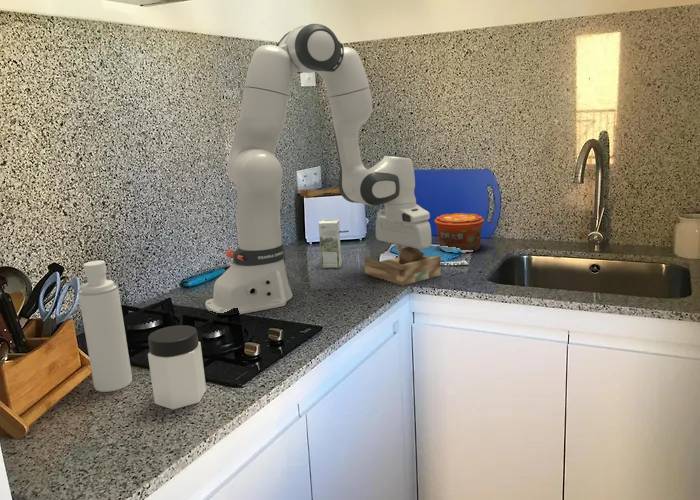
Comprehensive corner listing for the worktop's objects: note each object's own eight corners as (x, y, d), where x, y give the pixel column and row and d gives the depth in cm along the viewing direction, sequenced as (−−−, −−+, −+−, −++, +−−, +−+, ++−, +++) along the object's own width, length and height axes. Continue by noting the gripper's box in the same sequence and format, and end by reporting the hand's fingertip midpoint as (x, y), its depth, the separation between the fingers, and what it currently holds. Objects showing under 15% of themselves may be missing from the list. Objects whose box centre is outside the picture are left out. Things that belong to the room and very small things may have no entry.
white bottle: (135, 374, 116) (116, 248, 110) (128, 389, 109) (107, 257, 103) (99, 378, 115) (78, 251, 109) (90, 394, 109) (67, 260, 103)
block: (409, 270, 167) (411, 255, 165) (398, 262, 170) (401, 248, 168) (421, 266, 170) (423, 252, 168) (410, 259, 173) (413, 245, 171)
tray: (402, 285, 162) (401, 266, 160) (365, 273, 175) (364, 255, 174) (440, 275, 169) (440, 256, 168) (402, 264, 183) (401, 246, 182)
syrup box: (341, 263, 188) (339, 218, 184) (339, 268, 182) (336, 221, 179) (323, 264, 188) (320, 218, 185) (321, 269, 183) (318, 222, 179)
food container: (464, 257, 187) (464, 223, 184) (425, 250, 198) (424, 218, 196) (494, 247, 197) (494, 215, 195) (455, 241, 209) (454, 210, 206)
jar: (200, 382, 111) (192, 321, 108) (212, 399, 104) (204, 334, 101) (150, 395, 107) (141, 331, 104) (159, 414, 100) (150, 347, 97)
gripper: (368, 210, 175) (372, 255, 179) (417, 217, 159) (419, 267, 163) (385, 206, 179) (388, 251, 182) (434, 213, 163) (436, 262, 166)
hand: (403, 259), depth 172 cm, fingers closed
